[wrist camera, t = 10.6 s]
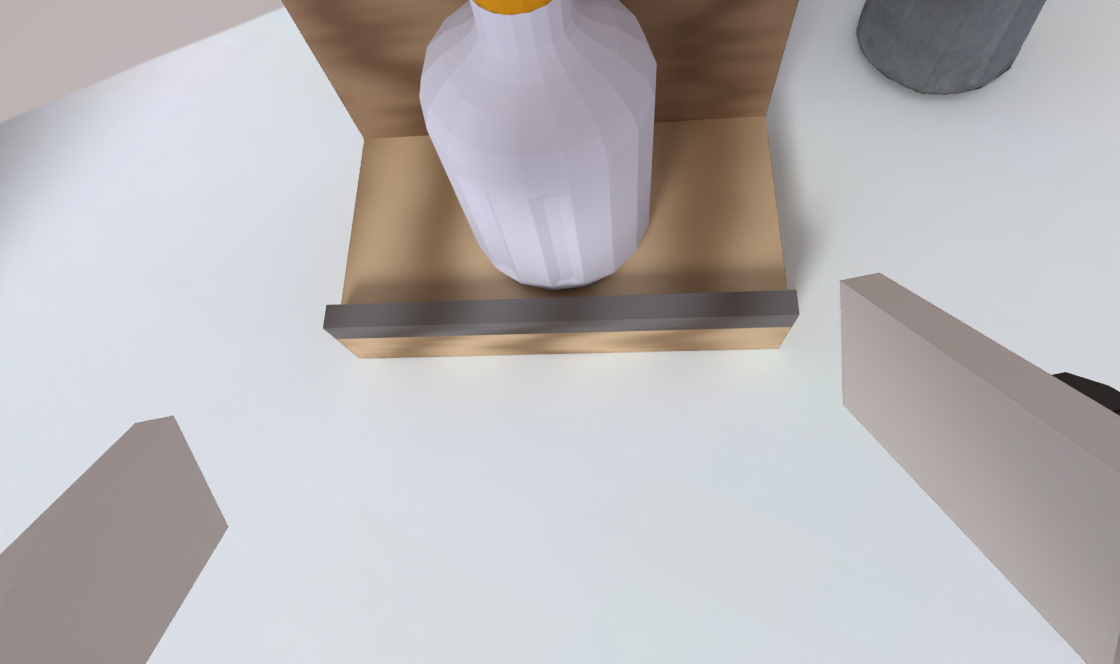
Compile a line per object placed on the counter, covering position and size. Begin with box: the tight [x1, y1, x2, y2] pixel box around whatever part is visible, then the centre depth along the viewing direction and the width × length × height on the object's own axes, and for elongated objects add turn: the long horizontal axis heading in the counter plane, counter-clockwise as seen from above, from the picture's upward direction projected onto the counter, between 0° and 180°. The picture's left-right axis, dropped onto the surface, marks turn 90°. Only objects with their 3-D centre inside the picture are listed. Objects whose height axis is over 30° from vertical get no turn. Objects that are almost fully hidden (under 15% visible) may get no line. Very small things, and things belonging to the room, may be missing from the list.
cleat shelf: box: [282, 0, 799, 358], centre depth 23 cm, size 22×14×30 cm, turn 89°
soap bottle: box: [419, 0, 657, 290], centre depth 23 cm, size 9×9×25 cm
